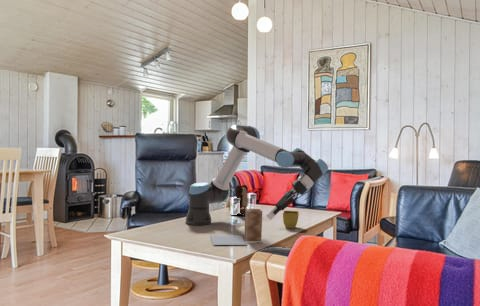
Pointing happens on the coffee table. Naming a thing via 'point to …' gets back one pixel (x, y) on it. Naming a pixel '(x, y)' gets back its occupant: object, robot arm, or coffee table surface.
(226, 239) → the mat
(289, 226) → the flower pot
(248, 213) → the walnut block
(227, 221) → the coffee table surface
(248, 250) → the coffee table surface
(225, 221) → the coffee table surface
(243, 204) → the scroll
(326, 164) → the robot arm
